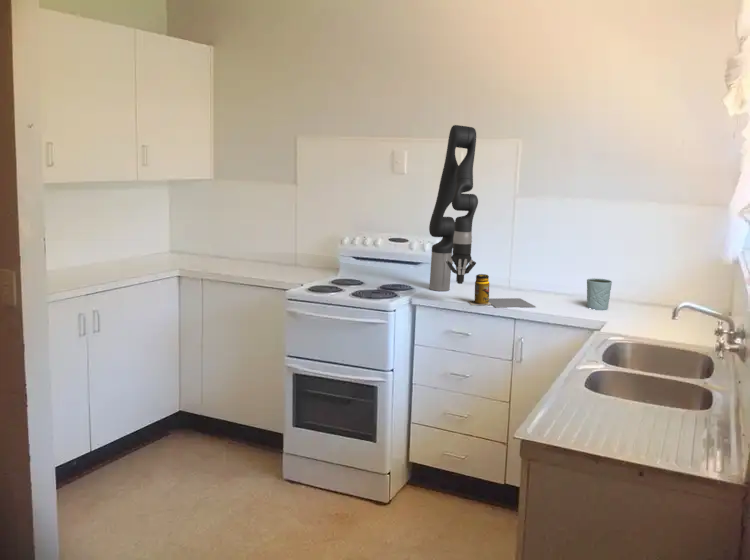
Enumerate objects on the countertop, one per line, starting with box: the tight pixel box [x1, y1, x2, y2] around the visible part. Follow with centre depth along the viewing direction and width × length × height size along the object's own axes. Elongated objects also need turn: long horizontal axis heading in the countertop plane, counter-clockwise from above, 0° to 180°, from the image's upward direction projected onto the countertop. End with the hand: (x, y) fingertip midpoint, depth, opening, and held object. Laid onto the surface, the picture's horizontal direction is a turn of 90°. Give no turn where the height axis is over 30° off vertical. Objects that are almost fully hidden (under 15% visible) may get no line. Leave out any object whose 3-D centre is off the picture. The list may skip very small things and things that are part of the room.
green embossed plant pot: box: [586, 277, 613, 311], centre depth 320 cm, size 10×10×12 cm
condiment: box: [467, 273, 491, 306], centre depth 319 cm, size 7×8×12 cm
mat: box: [489, 297, 537, 309], centre depth 323 cm, size 16×18×1 cm
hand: (459, 283), depth 316 cm, fingers closed
